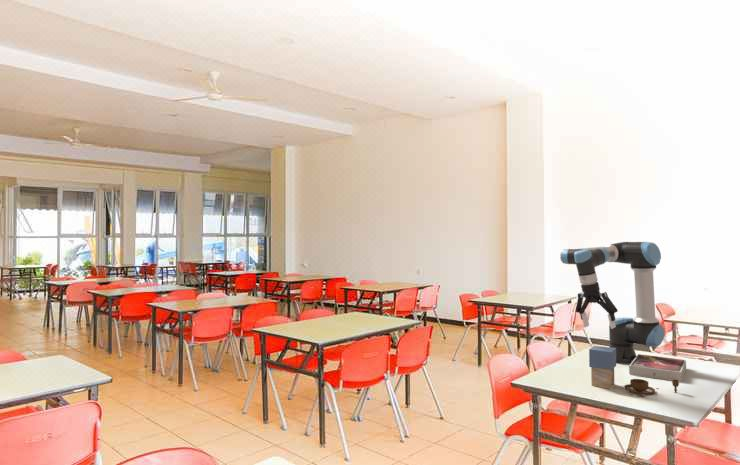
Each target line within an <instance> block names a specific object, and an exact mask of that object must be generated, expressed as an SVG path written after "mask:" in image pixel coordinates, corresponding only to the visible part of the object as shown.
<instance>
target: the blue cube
mask: <svg viewBox="0 0 740 465" xmlns="http://www.w3.org/2000/svg"><path fill="white" fill-rule="evenodd" d="M588 355H589V357H588V359H589V360H588V362H589V365H588V366H589V368H591V367H593V368H600V369H607V370H613V368H614V369H615V367H616V366H617V363H616V348H611V347H608V346H601V345H593V346H591V347H590V348H589V349H588Z"/></svg>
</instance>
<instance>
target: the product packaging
mask: <svg viewBox="0 0 740 465" xmlns="http://www.w3.org/2000/svg"><path fill="white" fill-rule="evenodd" d="M628 365H629V366H628V368H629V369H628V373H629V374H630V375H629V376H635V375H636V376H637V377H642V378H643V377H645V378H650V379H659V380H664V381H671V382H672V380H673V379H675V380H679V383H682V381H683V379H684V375H685V373H686V370H687V359H682V358H674V357H664V356H658V355H657V356H655V355H648V354H642V353H641V354H639V353H638V354H636V358H635V359H634V360H633V361H632V363H631V364H628ZM636 376H635V377H636Z"/></svg>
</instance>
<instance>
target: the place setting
mask: <svg viewBox="0 0 740 465" xmlns="http://www.w3.org/2000/svg"><path fill="white" fill-rule="evenodd" d="M671 384H672V386H673V387H674V389H673V391H674V394H678V392H677V391H678V389H677V388H678V387H679V385H680V382H679V380H675V379H673V380H672V381H671ZM623 388H624V390H625V391H626V392H628V393H629V395H632V396H636V397H643V398H644V397H646V396H650V395H653V394H655V393H656V392H655V391H656V390H659V387H657V388H653V387H651V386H649V381H648V380H646V379H640V378H632V379H630V383H629V384H628V383H627V384H625V385H624V387H623ZM629 388H631V389H629ZM632 389H633V390H632ZM646 391H647V392H646ZM648 391H649V392H648Z"/></svg>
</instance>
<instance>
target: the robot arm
mask: <svg viewBox="0 0 740 465" xmlns="http://www.w3.org/2000/svg"><path fill="white" fill-rule="evenodd" d="M661 259H662V254H661V250H660V247H658V245H657V244H656V243H654V242H651V241H649V242H648V241H622V242H616V243H611V244H610V243H609V244H605V245H604V246H597V247H596V246H595V247H583V248H566V249H565V248H564V249H562V250H561V252H560V261H561V263H562V264H564V265H566V264H567V265H576V269H577V273H578V274H577V275H578V279H579V283H580V284H581V285H580V287H581V292H578V293H577V300H576V301H577V302H576V306H575V310H574V311H575V313H579V315H580V319H581V321H582V322H583V326H584V328H588V327H589V326H590V324H589V319H588V315H587V311H586V309H587V307H588V306H589V304H591V303H594V304H598V305H599V306H600V307H601V308H603V309H604V310H605V311H606V312H607V313H608V314H607V318H608V322H609V323H608V325H609V326H608V329H609V330H608V331H609V334H608V335H609V336H608V337H609V340H608V341H609V345H608V346H609V347H611V348H616V364H625V365H626V364H628V365H630V364H631V363H632V361H633V360H634V359H635V358H636V356H637V354H636V351H635V348H634V344H635V345H640V346H646V347H648V348H649V347H651V348H657V347H659V346H660V345H661V344H662V343H663V341H664V338H665V334H666V333H665V332H666V330H665V328H664V326H663V325H661V324H660V320H659V318H657V317H656V305H655V286H654V285H655V284H654V271H655V270H656V269H657V266H658V265H659V264H660V262H661ZM605 263H620V264H627V265H630V269H631V270H633V273H634V277H633V278H634V294H635V312H636V313H635V314H636V316H635V317H634V318H633V317H616V315H615V314H616V313H617V312H618V311H619V310H618V308H617V307H616V305H615V304H614V303H613V301H612V300H611V299H610V297H609V295H608V292H606V291H605V292H600V290H601V289H600V285H599V282H598V277H597V273H596V267H599V266H601V265H604V264H605Z"/></svg>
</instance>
